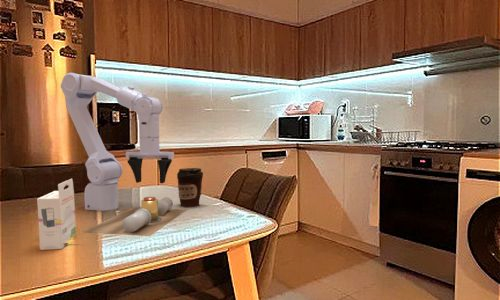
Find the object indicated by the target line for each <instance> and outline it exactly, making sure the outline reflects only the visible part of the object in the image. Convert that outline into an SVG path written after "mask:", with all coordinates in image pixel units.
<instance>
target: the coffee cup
mask: <svg viewBox="0 0 500 300" xmlns="http://www.w3.org/2000/svg"><path fill="white" fill-rule="evenodd" d="M203 177H204V172H202V168H199V167H188V168H187V167H185V168H179V169H178V172H177V174H176V178H177V189H178V190H177V191H178V198H179V203H180V207H183V208H197V207H200V199H201V196H202V189H203V184H202V183H203Z"/></svg>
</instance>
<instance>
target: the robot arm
mask: <svg viewBox="0 0 500 300" xmlns="http://www.w3.org/2000/svg"><path fill="white" fill-rule="evenodd" d="M60 89H61V90H62V93H63V96H64V98H65V106H66V110H67V112H68V114H69V116H70V119H71V121H72V124H73V125H74V127H75V130H76V132H77V134H78V136H79V139H80V140H81V142H82V145H83V147H84V149H85V150H84V151H85V152H86V155H87V156H88V158H87V160H86V161H85V163H84V165H85V168H86V173H87V178H88V180H89V182H88V183H87V185H86V186H85V188H84V192H83V193H84V210H87V211H88V210H90V211H97V212H98V211H100V212H103V211H106V212H107V211H112V210H117V209H118V208H119V184H118V183H119V182H120V178H121V176H122V175H123V166H122V165H121V163H120V162H119V161H118V160H117V158H116V157H115V156H114V154H112V153H111V152H109V151H108V150H107V148H106V147H105V145H104V143H103V140H102V138H101V135H100V134H99V132H98V129H97V127H96V125H95V122H94V121H93V118H92V115H91V114H90V111H89V110H88V105H89V104H90V103H91V102H92V100H93V99H94V97H95V96H96V95H97V93H102V94H105V95H107V96H110V97H112V98H114V99H116V102H117V103H118V104H119V105H120V106H123V107H125V108H127V109H129V110H132V111H134V112H135V113H136V114H137V120H138V124H139V125H138V126H139V127H138V128H139V129H138V130H139V131H138V132H139V151H125V159H128V160H127V164H128V165H129V167H130V169H131V171H132V173H133V176H134V180H135V183H142V166H143V160H144V159H148V160H149V159H151V160H152V159H155V160H157V165H158V169H159V170H158V171H159V184H164V183H166V177H167V174H168V170H169V168H170V166H171V165H172V161H173V160H175V159H174V158H175V152H173V151H171V152H170V151H161V150H160V115H161V113H162V112H163V104H162V101H161V100H160V99H158V97H156V96H152V97H151V96H148V93H146V92H142V93H141V92H139V91H138V90H135V87H133V86H130V85H129V86H123V87H121V88H120V87H118V86H116V85H114V84H112V83H111V82H108V81H106V80H105V79H102V78H100V77H96V76H93V75H85V74H78V73H75V72H68V73H65V75H64V76H63V78H62V81H61V84H60Z"/></svg>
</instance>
